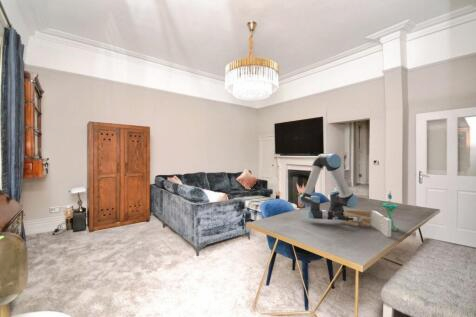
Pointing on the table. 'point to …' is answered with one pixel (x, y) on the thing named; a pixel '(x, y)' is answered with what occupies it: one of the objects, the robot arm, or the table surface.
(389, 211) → the hanging basket ornament
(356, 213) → the tan faceted tapered block
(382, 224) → the cream slotted board
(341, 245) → the table surface
